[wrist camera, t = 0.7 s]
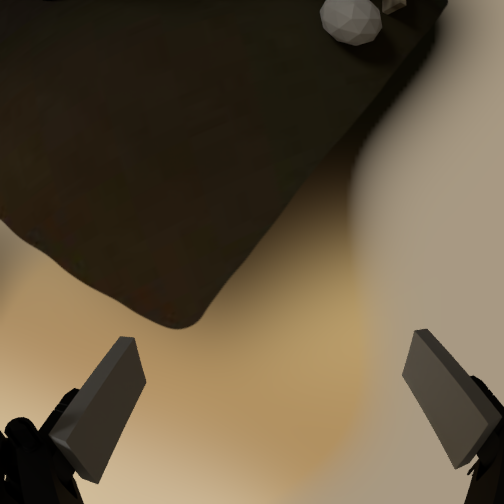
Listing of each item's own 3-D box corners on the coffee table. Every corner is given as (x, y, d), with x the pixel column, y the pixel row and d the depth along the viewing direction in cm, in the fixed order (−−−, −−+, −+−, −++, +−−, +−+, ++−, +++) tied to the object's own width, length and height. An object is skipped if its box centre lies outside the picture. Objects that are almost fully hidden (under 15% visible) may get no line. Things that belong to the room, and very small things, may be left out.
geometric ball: (328, 43, 31) (324, 50, 26) (318, -6, 25) (311, -10, 21) (381, 43, 28) (388, 50, 23) (373, -7, 23) (378, -11, 18)
